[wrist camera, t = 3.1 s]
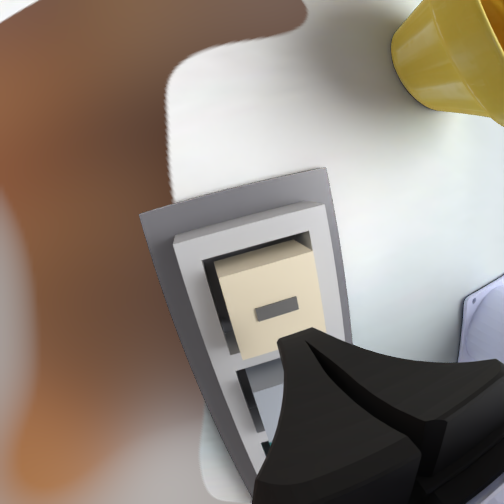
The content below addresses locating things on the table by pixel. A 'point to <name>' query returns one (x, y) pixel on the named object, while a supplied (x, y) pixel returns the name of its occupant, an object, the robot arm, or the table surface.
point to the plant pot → (454, 56)
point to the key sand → (270, 295)
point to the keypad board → (210, 294)
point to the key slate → (267, 392)
